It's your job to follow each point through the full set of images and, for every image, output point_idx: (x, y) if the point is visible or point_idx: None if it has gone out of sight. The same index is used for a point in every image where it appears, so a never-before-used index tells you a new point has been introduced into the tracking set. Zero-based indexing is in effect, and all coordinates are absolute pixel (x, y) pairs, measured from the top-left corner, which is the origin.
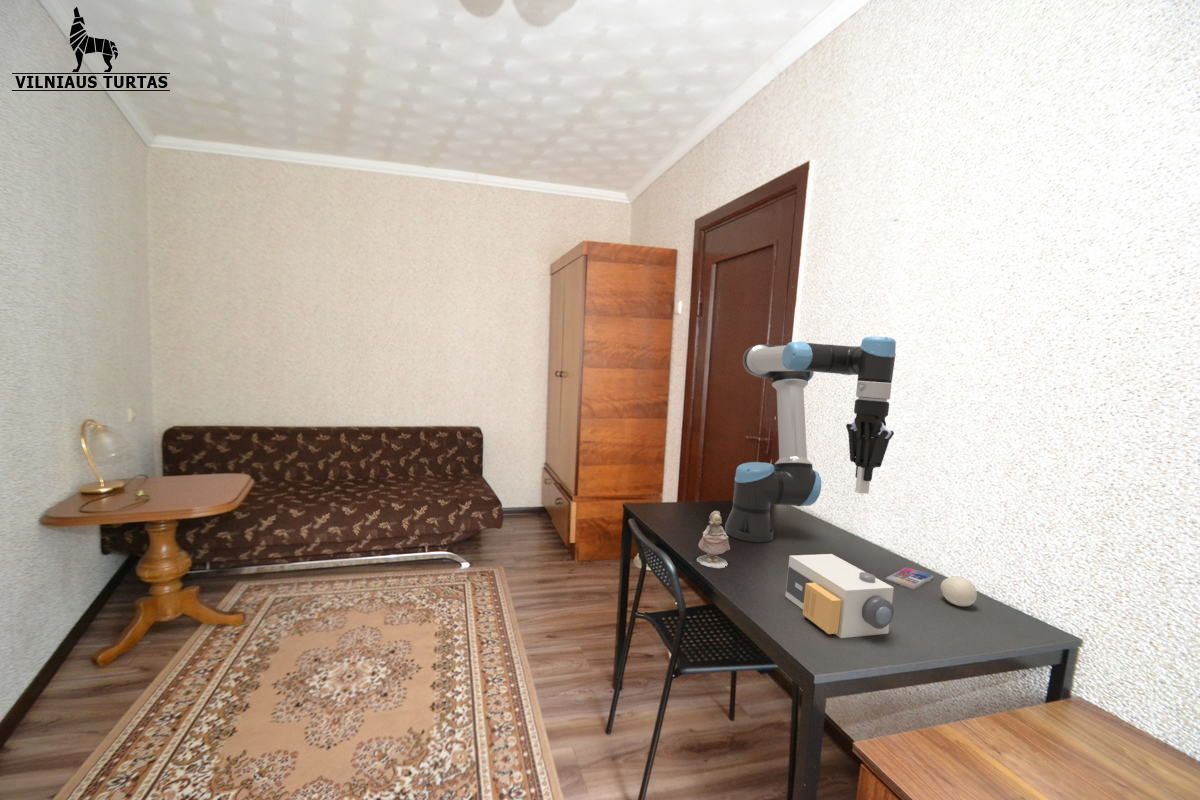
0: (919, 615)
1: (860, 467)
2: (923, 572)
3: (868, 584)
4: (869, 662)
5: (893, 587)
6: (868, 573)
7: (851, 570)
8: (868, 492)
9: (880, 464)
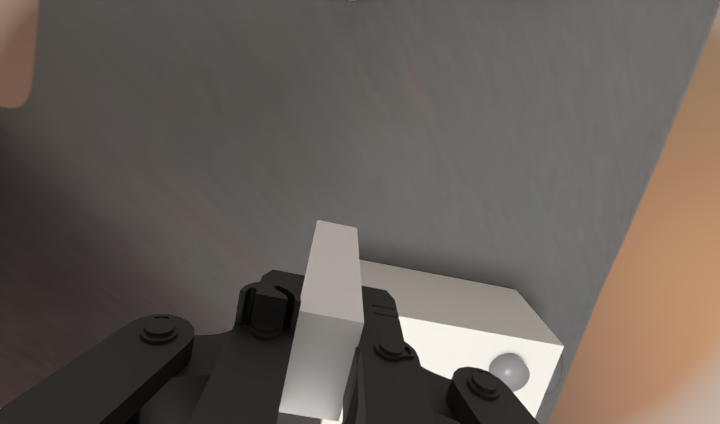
0: (509, 140)
1: (311, 414)
2: None
3: (524, 389)
4: (546, 399)
5: (563, 346)
6: (506, 365)
7: (453, 356)
8: (356, 228)
9: (514, 410)
